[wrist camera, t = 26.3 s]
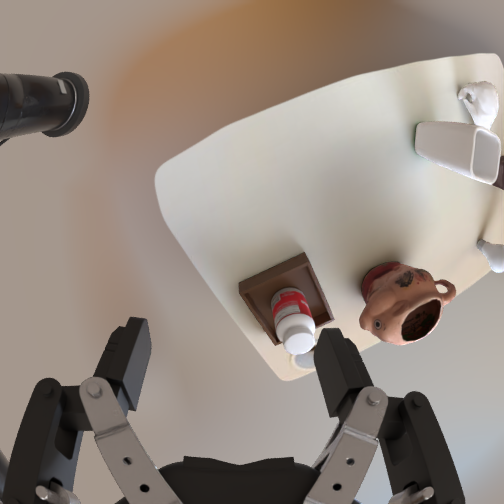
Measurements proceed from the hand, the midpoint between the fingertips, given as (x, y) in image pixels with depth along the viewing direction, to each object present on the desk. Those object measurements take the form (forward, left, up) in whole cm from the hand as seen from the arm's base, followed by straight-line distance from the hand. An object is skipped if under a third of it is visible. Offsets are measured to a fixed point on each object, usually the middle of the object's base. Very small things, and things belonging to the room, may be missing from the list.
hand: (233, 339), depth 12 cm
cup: (+31, +13, -30) cm, 45 cm away
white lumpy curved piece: (+42, +23, -30) cm, 57 cm away
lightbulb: (+56, -4, -30) cm, 64 cm away
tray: (+11, -19, -30) cm, 37 cm away
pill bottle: (+11, -19, -30) cm, 37 cm away
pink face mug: (+31, -14, -30) cm, 46 cm away
